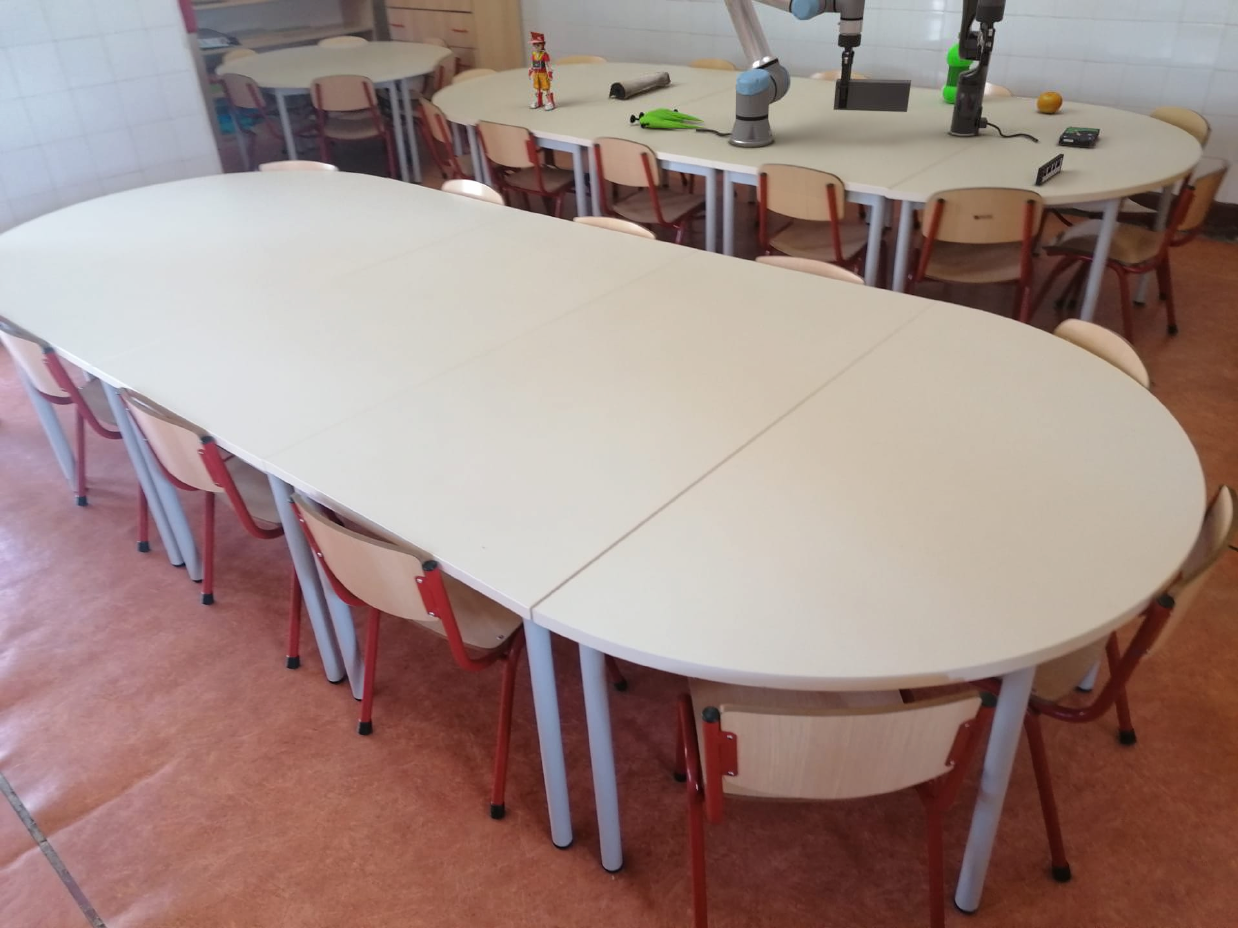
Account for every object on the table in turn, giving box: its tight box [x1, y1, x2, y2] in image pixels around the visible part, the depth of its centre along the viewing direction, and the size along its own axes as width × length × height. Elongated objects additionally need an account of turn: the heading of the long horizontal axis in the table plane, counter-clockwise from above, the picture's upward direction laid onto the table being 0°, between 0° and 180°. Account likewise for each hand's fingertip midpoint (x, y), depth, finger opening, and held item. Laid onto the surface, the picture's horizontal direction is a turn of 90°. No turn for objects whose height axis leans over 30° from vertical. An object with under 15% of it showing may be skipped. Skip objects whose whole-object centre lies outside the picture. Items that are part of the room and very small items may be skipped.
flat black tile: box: [1035, 153, 1065, 186], centre depth 273 cm, size 18×1×5 cm, turn 138°
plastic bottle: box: [942, 31, 974, 104], centre depth 348 cm, size 10×10×25 cm
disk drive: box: [1057, 126, 1101, 148], centre depth 303 cm, size 10×3×15 cm
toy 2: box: [629, 107, 705, 129], centre depth 347 cm, size 28×5×30 cm
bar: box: [833, 78, 912, 113], centre depth 308 cm, size 25×4×9 cm, turn 73°
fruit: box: [1036, 91, 1064, 114], centre depth 334 cm, size 8×8×8 cm
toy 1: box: [527, 31, 556, 111], centre depth 374 cm, size 12×9×30 cm
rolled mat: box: [608, 71, 672, 101], centre depth 395 cm, size 30×9×10 cm
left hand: (843, 106), depth 312 cm, fingers closed on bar, 4 cm apart
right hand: (981, 63), depth 266 cm, fingers open, 8 cm apart
